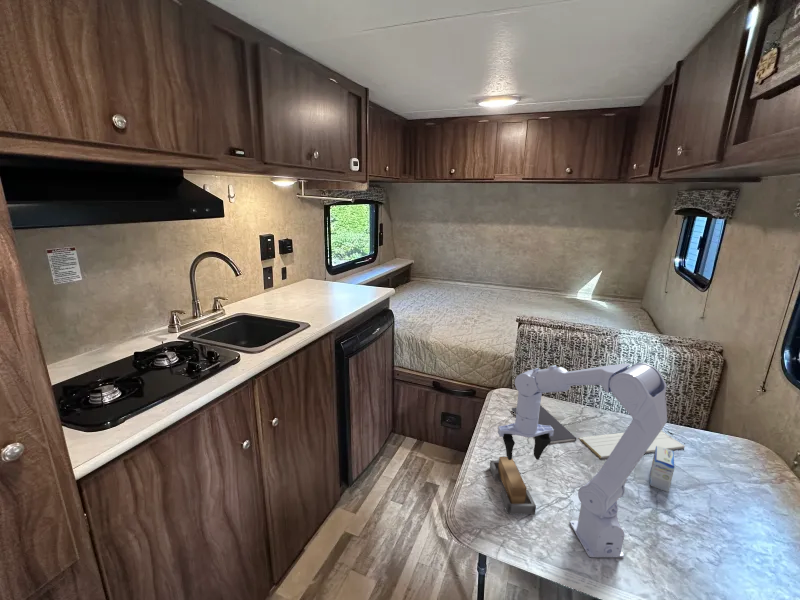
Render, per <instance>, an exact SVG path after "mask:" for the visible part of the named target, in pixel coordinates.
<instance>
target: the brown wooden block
mask: <svg viewBox="0 0 800 600" xmlns="http://www.w3.org/2000/svg"><path fill="white" fill-rule="evenodd" d="M498 461H499V467H498V473H499V475H500V478H501V480H502V481H501V483H502V485H503V486H504V487H503V488H504V490H505V492H506V494H507V495H508V497H509V500H510V502H511V504H525V497H526V490H528V489H527V486H526V483H525V482H524V480H523V478H522V477H523V476H521V472H520V470H519V468H518V466H517V464H516V462H515V460H514V459H513V458H512V459H511V460H508V457H507V456H499V458H498ZM514 462H515V463H514ZM515 464H516V465H515ZM516 466H517V467H516ZM517 468H518V469H517ZM518 470H519V471H518ZM519 472H520V473H519Z"/></svg>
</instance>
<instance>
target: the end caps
mask: <svg viewBox="0 0 800 600" xmlns="http://www.w3.org/2000/svg"><path fill="white" fill-rule="evenodd" d="M514 463H515V465H516V467H517V469H518V471H519V473H520V474H521V472H520V470H519V468H518V466H517V464H516V462H515V461H514ZM498 467H499V460H490V463H489V469H490V472H491V474H492V477H493V480H494V481H495V482H502V480H501V478H500V475H499V473H498ZM500 499H501V500H502V505H503V506H504V509H505V512H506V514H507V515H536V509H537V505H536V503H535V501H534V499H533V497H532V494H531V493H530V490H529V489H526V497H525V504H511V502H510V500H509V497H508V495H507V492H506V490H505V489H501V493H500Z"/></svg>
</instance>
